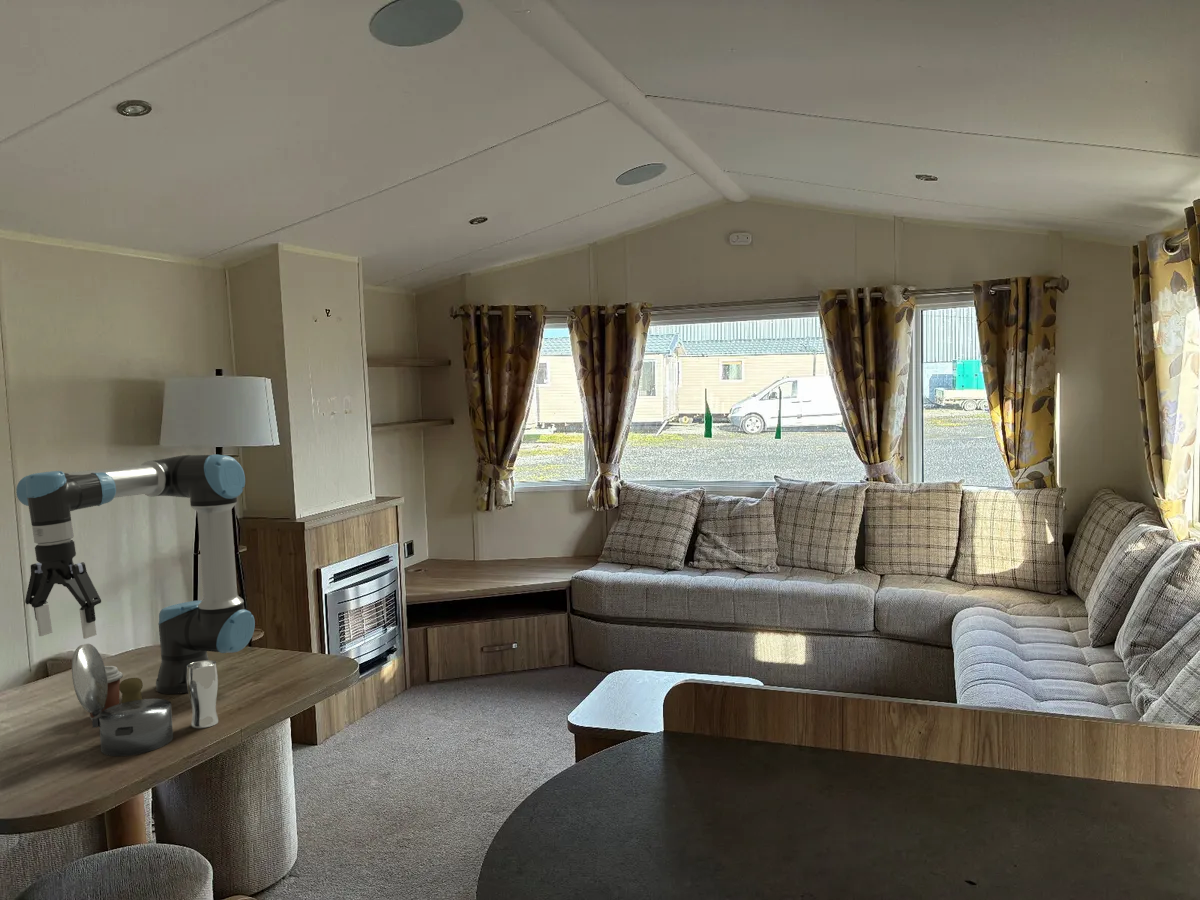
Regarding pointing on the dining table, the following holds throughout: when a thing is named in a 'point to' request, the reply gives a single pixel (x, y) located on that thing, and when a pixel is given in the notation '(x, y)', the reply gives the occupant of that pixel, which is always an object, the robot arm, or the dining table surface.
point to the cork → (131, 689)
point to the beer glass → (203, 692)
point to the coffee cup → (112, 687)
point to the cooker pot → (135, 727)
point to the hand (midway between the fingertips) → (67, 635)
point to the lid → (89, 678)
